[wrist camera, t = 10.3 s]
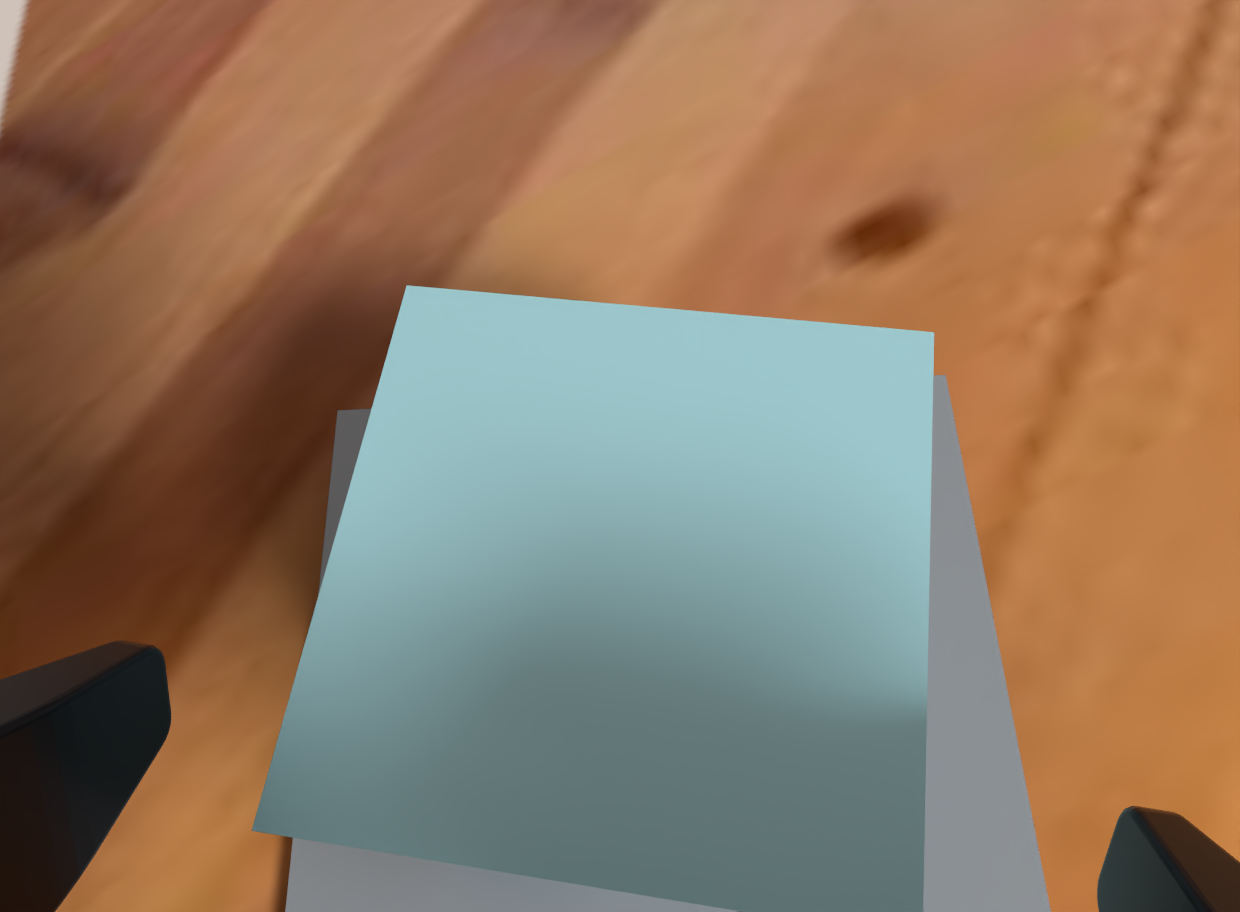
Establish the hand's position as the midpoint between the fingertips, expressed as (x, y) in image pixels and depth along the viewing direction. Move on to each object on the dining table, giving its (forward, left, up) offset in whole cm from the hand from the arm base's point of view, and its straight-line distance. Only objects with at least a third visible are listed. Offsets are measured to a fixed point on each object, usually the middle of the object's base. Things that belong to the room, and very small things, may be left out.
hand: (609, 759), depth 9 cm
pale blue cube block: (+2, 0, -10) cm, 10 cm away
